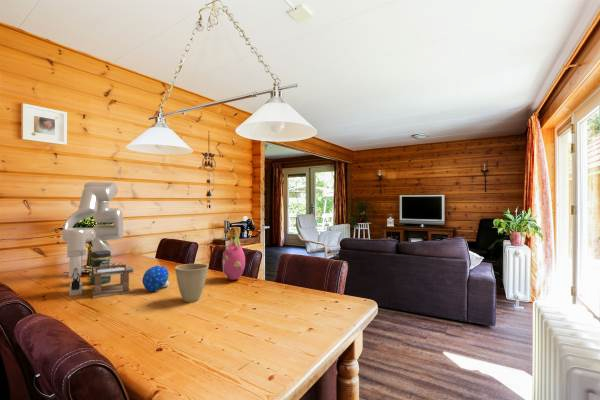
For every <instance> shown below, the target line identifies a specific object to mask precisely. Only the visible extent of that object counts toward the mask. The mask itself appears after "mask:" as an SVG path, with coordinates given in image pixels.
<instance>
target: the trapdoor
mask: <svg viewBox="0 0 600 400" xmlns="http://www.w3.org/2000/svg"><path fill="white" fill-rule="evenodd" d="M126 269H129V274H131V273H134V269H133V267H132V266H126V267H125V268H124V267H121V268H120V267H116V268H110V269H102V270H97V273H98V272H110V271H119V270H126ZM120 274H123V273H114V274H105V275H101V276H107V275H110V276H115V275H120Z"/></svg>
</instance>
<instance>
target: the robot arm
mask: <svg viewBox="0 0 600 400" xmlns="http://www.w3.org/2000/svg"><path fill="white" fill-rule="evenodd" d="M118 190H119V187H118V185H117V183H115V182H111V181H110V182H105V181H103V182H102V181H101V182H100V181H99V182H98V181H91V182H85V184H84V185H83V189H82V191H81V196H80V200H79V204H78V209H77V210H76V211H75V212H73V213H72V214H71V215H69V217H68V218H67V219H66V220H65V222H64V225H63V227H62V232H61V238H62V240H63V241H64V242H65V243H67V244H66V258H69V260H68V262H69V263H68V278H72V279H71V283H72V285H71V290H78V289H79V288H80V282H81V276H82V271H83V257H85V256H86V243H89V242H91V241H92V252H94V251H101V250H108V251H110V252H111V245H110V243H109V242H108V241H113V240H120V239H122V238H123V237H124V214H123V212H122V209H120V208H117V207H113V208H112V207H111V208H110V206H109V205H110V203H109V202H110V201H112V200H113V199H114V198H115V197H116V196H117V194H118ZM90 217H93V221H94V222H95V223H97V225H94V226H93V227H74V226H75V225H76V224H77V223H78V222H80V221H82V220H85V219H87V218H90ZM89 277H91V272H90V273H89Z"/></svg>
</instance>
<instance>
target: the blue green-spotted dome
mask: <svg viewBox="0 0 600 400" xmlns="http://www.w3.org/2000/svg"><path fill="white" fill-rule="evenodd" d="M169 274H170V273H169V270H168V269H167V267H166V266H161V265H154V266H151V267H149V268H148V269H147V270H145V272H144V274H143V277H142V280H141V281H142V285H143V286H144V289H146V291H148V292H157V291H159V290H161V289H162V288H168V287H169V286H170V282H169Z"/></svg>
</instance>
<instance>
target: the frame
mask: <svg viewBox="0 0 600 400" xmlns="http://www.w3.org/2000/svg"><path fill="white" fill-rule="evenodd" d="M121 267H124V268H125V267H127V264H126V263H123V264H115V265H110V266H103V267H93V273H94V276H95V280H94V285H93V287H92V299H98V298H99V299H101V298H105V297H113V296H119V295H125V294H131V288H130V284H129V283H130V273H129V269H126V270H119V271H110V272H98V273H97V270H100V269H106V268H110V269H112V268H121ZM114 273H123V274H119V277H120V278H119V279H120V281H119V283H115V284H107V285H106V284H105V285H102V284H101V275H105V274H114Z"/></svg>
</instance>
